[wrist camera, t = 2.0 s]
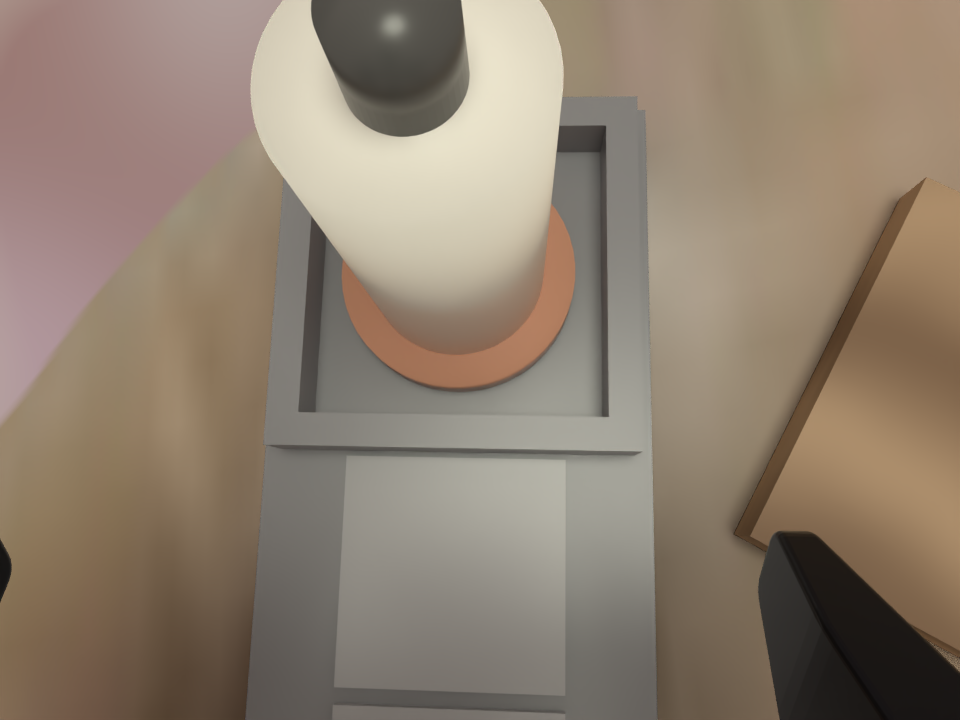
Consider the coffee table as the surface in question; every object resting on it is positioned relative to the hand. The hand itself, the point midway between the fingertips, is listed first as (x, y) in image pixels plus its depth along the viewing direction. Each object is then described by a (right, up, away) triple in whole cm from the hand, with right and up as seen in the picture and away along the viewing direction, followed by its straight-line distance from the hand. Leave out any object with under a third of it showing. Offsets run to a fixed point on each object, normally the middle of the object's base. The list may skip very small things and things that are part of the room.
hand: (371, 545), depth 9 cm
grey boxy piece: (+1, -3, +12) cm, 13 cm away
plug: (+1, +4, +12) cm, 12 cm away
